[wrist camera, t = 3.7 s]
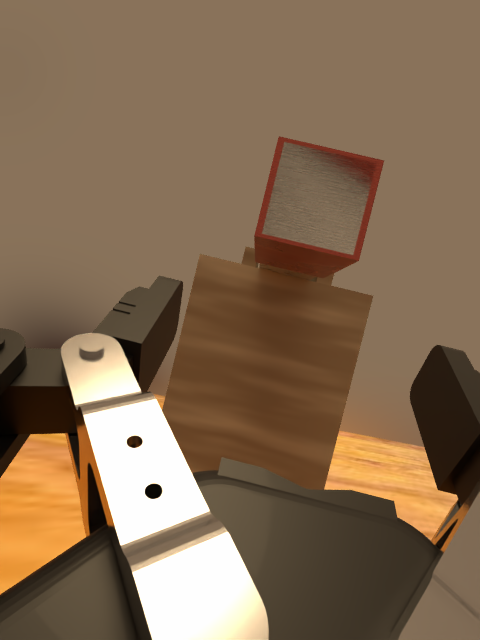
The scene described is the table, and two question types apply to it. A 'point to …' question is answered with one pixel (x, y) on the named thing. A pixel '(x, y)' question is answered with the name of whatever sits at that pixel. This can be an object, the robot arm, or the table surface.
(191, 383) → the stand
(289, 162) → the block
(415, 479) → the table surface
